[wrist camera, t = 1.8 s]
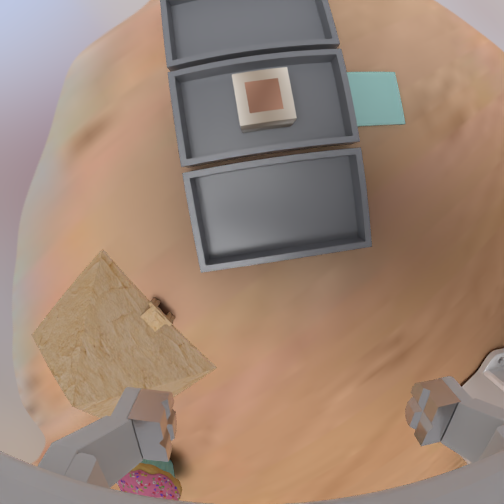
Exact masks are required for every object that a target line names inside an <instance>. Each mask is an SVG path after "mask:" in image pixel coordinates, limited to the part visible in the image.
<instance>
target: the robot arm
mask: <svg viewBox="0 0 504 504" xmlns="http://www.w3.org/2000/svg"><path fill="white" fill-rule="evenodd" d="M411 394H412V396H413V397H412V398H411V399H410V400H409V401H408V403H407V406H406V409H405V417H406V420H407V423H408V425H409V426H410V427H412V428H414V429H415V433H414V435H415V437H416V438H417V440H418V442H419V443H420V445H421V446H424V445H428V444H432V443H436V442H440V441H441V443H442V444H444V445H445V446H447V447H448V448H450V449H452V450H453V451H455V452H456V453H458V454H459V455H460V456H461V457H462V458H463V459H464V460H465V461H466V462H467V463H468V465H466V466H463V467H460V468H458V469H455V470H452V471H449V472H446V473H443V474H440V475H437V476H434V477H431V478H428V479H425V480H421V481H418V482H414V483H411V484H407V485H403V486H399V487H395V488H391V489H386V490H382V491H377V492H372V493H367V494H362V495H357V496H351V497H344V498H338V499H330V500H322V501H313V502H302V503H288V504H504V348H502V349H497V350H494V351H492V352H491V353H490V354H489V355H488V356H487V357H486V359H485V360H484V362H483V363H482V365H481V366H480V368H479V369H478V371H477V372H476V373H475V374H474V375H473V376H472V377H471V378H470V379H469V380H468V381H467V382H466V383H465V384H464V385H463V386H462V387H461V386H460V384H459V383H458V382H457V381H456V380H455V379H454V378H453V377H451V376H447V377H442V378H438V379H435V380H430V381H424V382H418V383H415V384H414V386H413V388H412V391H411ZM173 404H174V398H173V394H172V392H167V391H159V390H150V389H143V388H142V389H141V388H134V387H127V388H125V390H124V392H123V393H122V395H121V397H120V399H119V401H118V403H117V405H116V407H115V409H114V411H113V413H112V414H111V416H105V417H103V418H101V419H99V420H97V421H95V422H93V423H91V424H89V425H87V426H85V427H83V428H81V429H79V430H78V431H76V432H73V433H71V434H69V435H67V436H65V437H63V438H61V439H59V440H57V441H55V442H53V443H52V444H51V445H50V447H49V449H48V450H47V452H46V453H45V455H44V457H43V458H42V460H41V461H40V463H39V465H38V466H35V465H32V464H29V463H27V462H25V461H22V460H19V459H17V458H15V457H13V456H10V455H8V454H6V453H4V452H2V451H0V504H212V503H198V502H187V501H178V500H170V499H162V498H156V497H149V496H144V495H138V494H133V493H128V492H123V491H118V490H114V489H110V487H111V486H113V485H114V484H115V483H116V482H118V481H119V480H120V479H121V478H123V477H124V476H125V475H126V474H127V473H129V472H130V471H131V470H132V469H133V468H135V467H136V466H137V465H138V464H139V463H140V462H142V461H143V459H146V460H154V461H163V462H169V459H170V455H171V451H172V444H171V440H173V439H174V438H175V434H176V426H177V420H176V412H175V411H174V410H173V409H172V407H173Z"/></svg>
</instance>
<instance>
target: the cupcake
mask: <svg viewBox="0 0 504 504" xmlns="http://www.w3.org/2000/svg"><path fill="white" fill-rule="evenodd" d="M117 484H118V486H119V488H120V489H121V491H123V492H128V493H133V494H138V495H144V496H149V497H156V498H162V499H170V500H179V499H180V496H181V493H182V487H181V484H180V482H179V480H177V479H176V478H175V475H174V469H173V464H172V462H171V460H170V459H169V462H163V461H154V460H146V459H143V461H142V462H140V463H139V464H138V465H137V466H136V467H135V468H133V469H132V470H131V471H130V472H129V473H127V474H126V475H125V476H124V477H123V478H121V479H120V480H119V481H118V482H117Z"/></svg>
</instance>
